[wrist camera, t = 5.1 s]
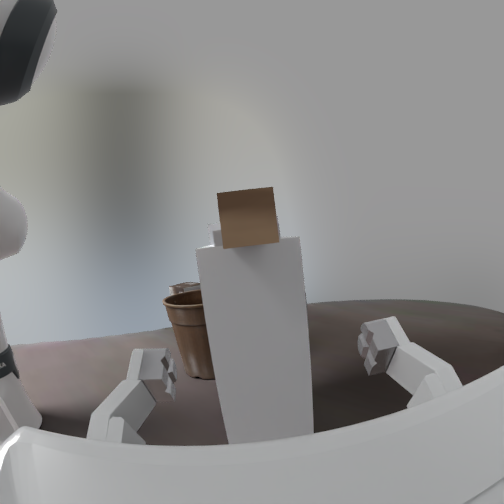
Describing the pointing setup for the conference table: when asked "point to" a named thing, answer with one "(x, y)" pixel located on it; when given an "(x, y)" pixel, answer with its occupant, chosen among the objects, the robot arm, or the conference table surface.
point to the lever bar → (248, 217)
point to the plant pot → (191, 332)
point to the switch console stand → (258, 337)
